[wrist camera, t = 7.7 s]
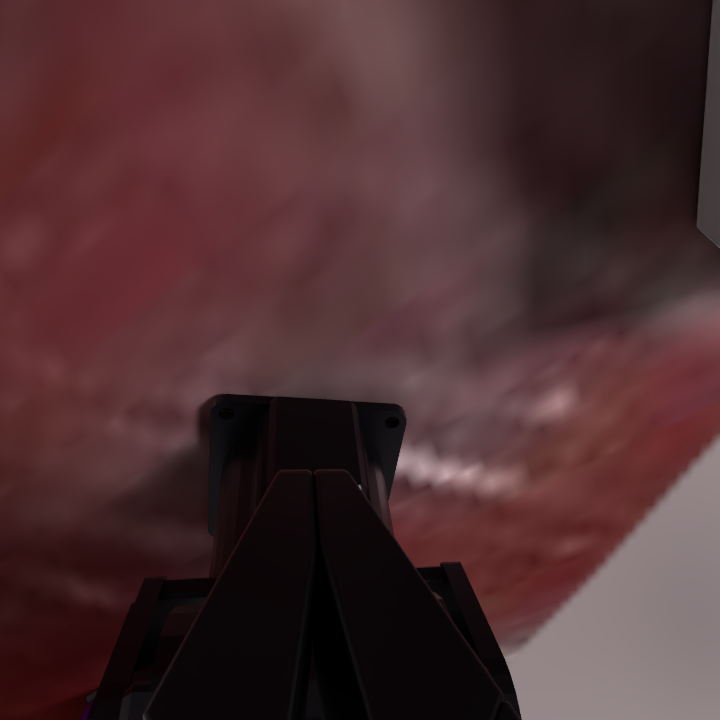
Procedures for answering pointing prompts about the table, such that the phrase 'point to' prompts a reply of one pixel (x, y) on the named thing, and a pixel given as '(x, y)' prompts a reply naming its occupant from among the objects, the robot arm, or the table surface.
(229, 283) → the table surface
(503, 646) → the table surface
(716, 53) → the skincare box
